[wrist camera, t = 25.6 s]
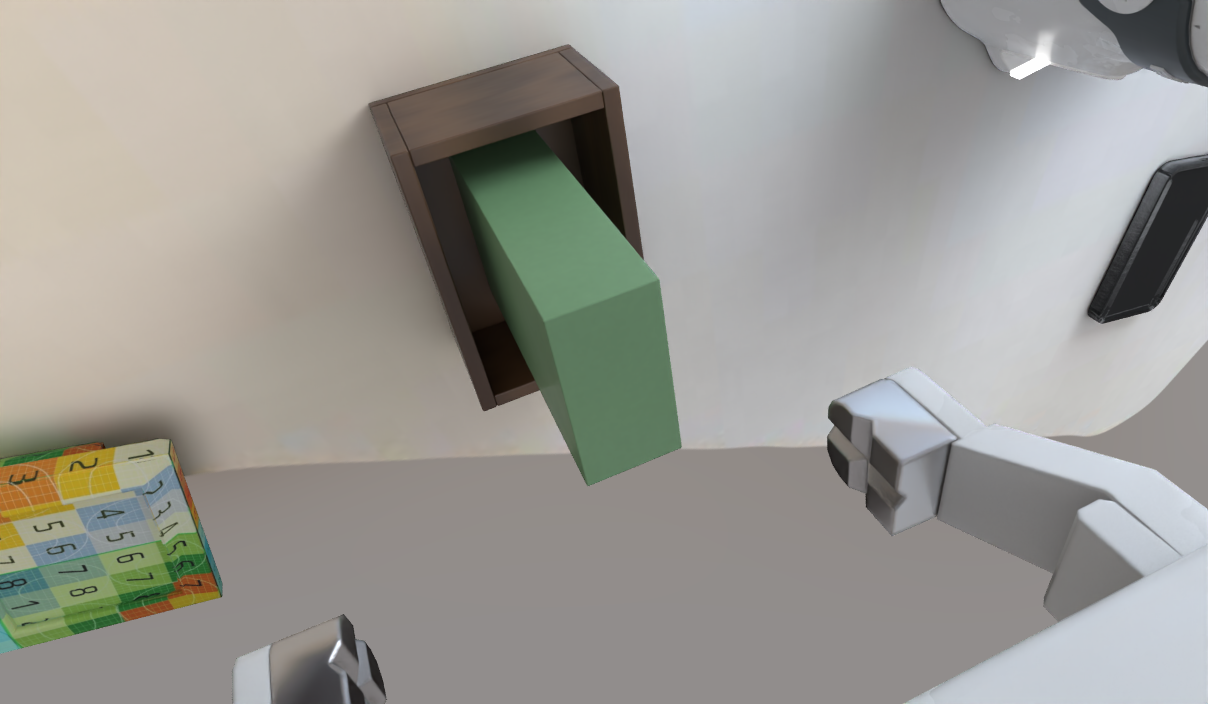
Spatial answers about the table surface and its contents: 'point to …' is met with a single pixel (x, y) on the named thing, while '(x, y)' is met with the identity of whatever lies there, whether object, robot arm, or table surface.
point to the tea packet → (573, 304)
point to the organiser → (480, 117)
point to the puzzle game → (97, 540)
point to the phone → (1155, 241)
